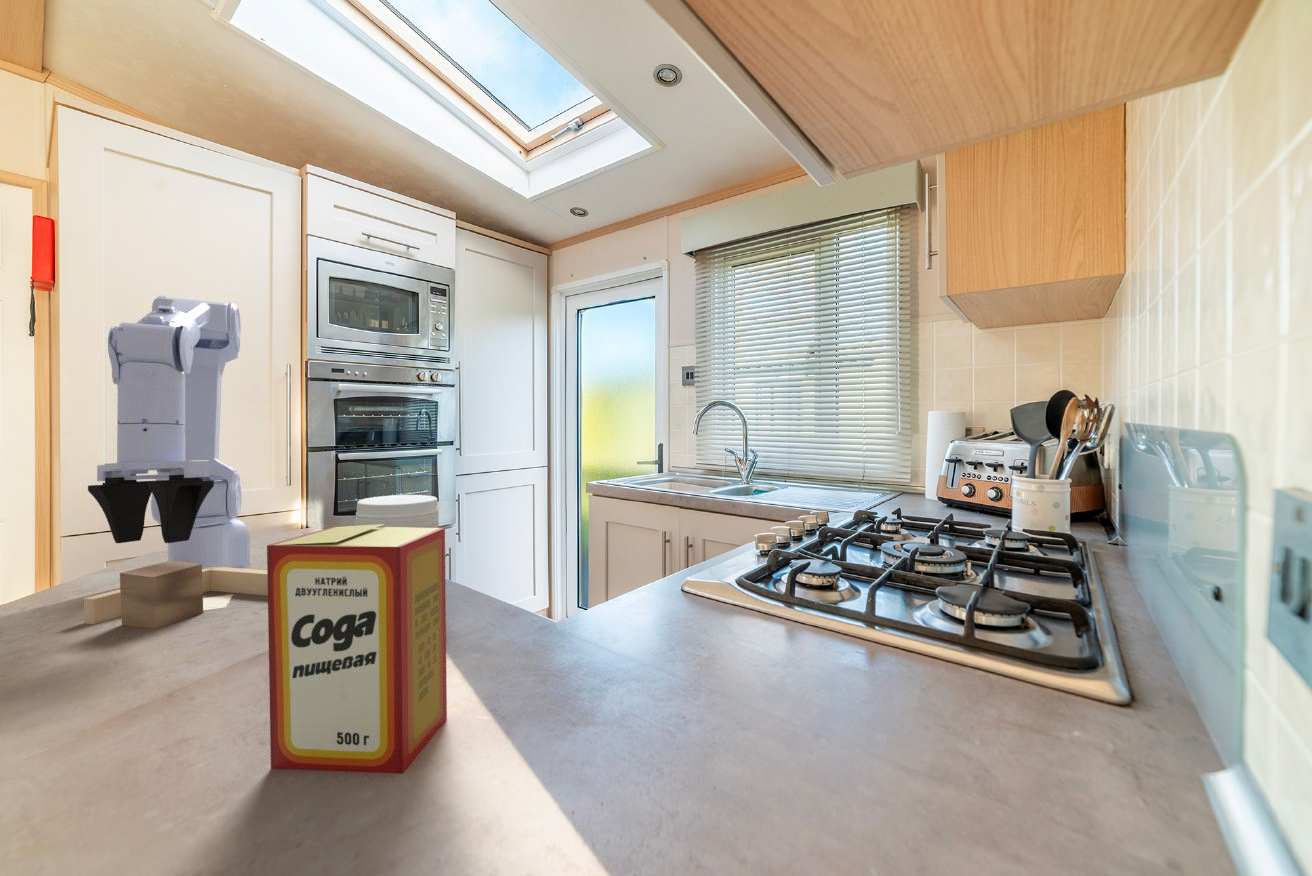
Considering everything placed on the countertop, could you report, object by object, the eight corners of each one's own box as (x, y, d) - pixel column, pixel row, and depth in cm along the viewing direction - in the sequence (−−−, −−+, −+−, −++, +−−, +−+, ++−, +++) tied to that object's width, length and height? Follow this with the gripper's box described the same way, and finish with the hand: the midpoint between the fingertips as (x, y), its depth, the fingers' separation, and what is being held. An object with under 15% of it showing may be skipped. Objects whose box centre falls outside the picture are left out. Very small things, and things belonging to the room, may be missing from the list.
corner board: (213, 595, 73) (213, 566, 73) (324, 605, 69) (324, 574, 68) (84, 634, 59) (83, 598, 59) (212, 650, 55) (212, 611, 55)
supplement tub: (337, 621, 63) (335, 502, 63) (399, 597, 72) (398, 492, 72) (397, 631, 60) (396, 506, 60) (455, 605, 69) (454, 495, 68)
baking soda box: (446, 719, 42) (444, 523, 41) (403, 773, 35) (400, 541, 35) (334, 716, 42) (331, 522, 42) (270, 768, 36) (266, 540, 35)
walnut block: (171, 608, 63) (170, 560, 63) (203, 612, 62) (201, 564, 62) (121, 624, 59) (119, 573, 58) (154, 629, 57) (152, 577, 57)
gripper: (62, 427, 58) (61, 547, 58) (158, 419, 55) (158, 547, 54) (138, 430, 65) (137, 537, 64) (227, 423, 62) (228, 537, 61)
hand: (152, 541), depth 60 cm, fingers open, 7 cm apart
